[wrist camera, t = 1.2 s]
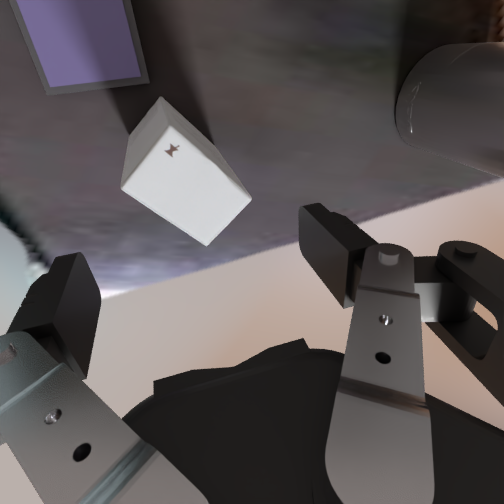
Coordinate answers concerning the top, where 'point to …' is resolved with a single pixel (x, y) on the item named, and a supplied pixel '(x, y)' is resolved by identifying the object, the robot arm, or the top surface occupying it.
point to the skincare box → (181, 174)
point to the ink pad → (82, 43)
